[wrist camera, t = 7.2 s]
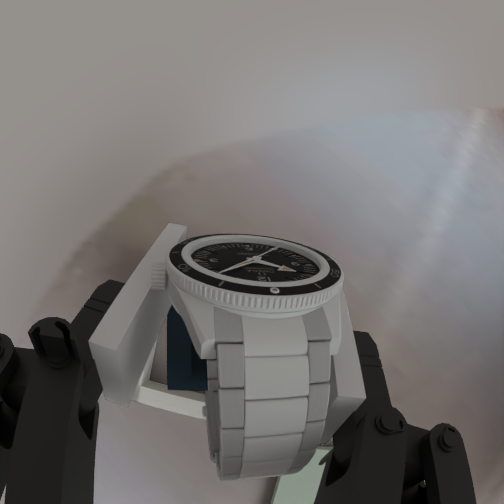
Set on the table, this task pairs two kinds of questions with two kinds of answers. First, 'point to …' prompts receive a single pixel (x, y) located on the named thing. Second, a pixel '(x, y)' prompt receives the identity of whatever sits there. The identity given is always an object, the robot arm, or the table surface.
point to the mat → (301, 482)
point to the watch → (253, 345)
